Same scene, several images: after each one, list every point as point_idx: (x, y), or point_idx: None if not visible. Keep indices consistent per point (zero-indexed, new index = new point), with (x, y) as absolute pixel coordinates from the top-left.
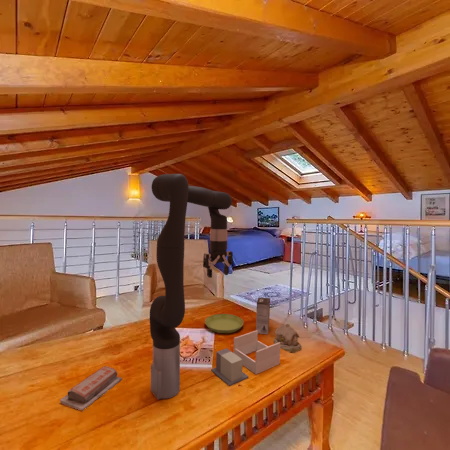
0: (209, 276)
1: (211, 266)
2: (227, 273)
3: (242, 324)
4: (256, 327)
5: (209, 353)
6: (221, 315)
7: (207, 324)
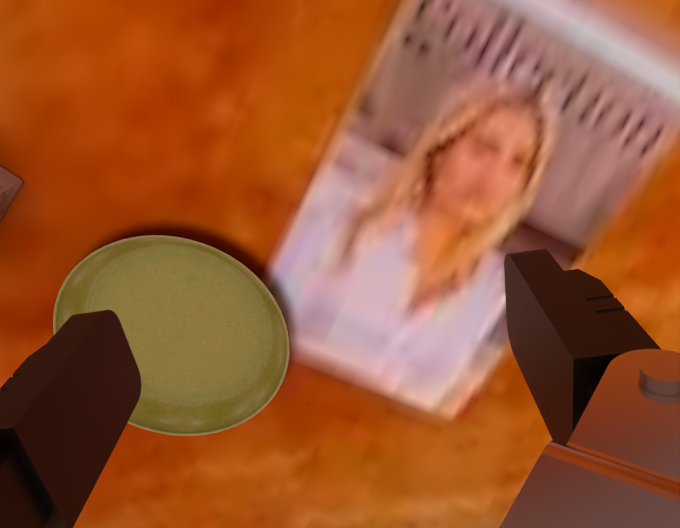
0: (571, 271)
1: (658, 413)
2: (76, 325)
3: (76, 269)
4: (2, 191)
5: (388, 79)
6: (156, 421)
7: (268, 369)
